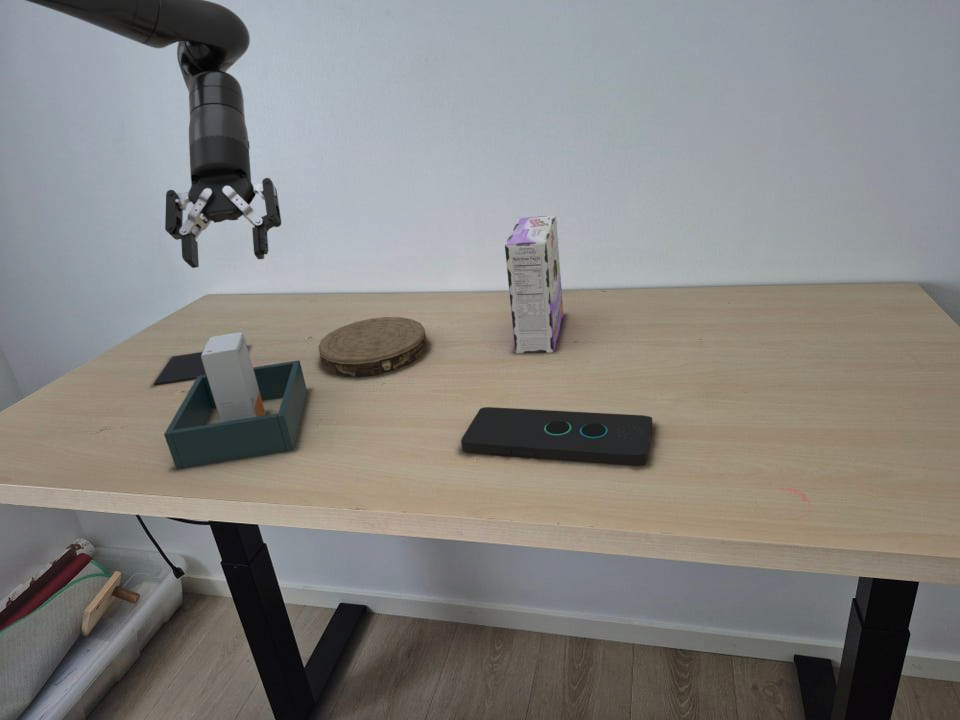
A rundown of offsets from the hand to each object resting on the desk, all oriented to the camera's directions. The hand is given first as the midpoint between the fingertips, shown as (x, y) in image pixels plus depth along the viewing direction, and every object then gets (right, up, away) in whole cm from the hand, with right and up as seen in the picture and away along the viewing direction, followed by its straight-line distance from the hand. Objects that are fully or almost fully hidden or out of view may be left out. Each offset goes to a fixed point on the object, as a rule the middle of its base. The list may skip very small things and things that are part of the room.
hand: (226, 261), depth 90 cm
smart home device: (+41, -22, -12) cm, 48 cm away
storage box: (+3, -21, -1) cm, 22 cm away
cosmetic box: (+3, -22, -1) cm, 22 cm away
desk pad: (-10, -14, +19) cm, 26 cm away
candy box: (+42, -9, +15) cm, 45 cm away
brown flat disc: (+17, -12, +15) cm, 26 cm away
